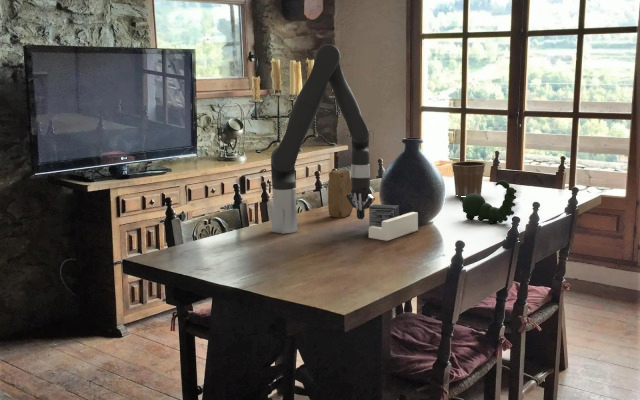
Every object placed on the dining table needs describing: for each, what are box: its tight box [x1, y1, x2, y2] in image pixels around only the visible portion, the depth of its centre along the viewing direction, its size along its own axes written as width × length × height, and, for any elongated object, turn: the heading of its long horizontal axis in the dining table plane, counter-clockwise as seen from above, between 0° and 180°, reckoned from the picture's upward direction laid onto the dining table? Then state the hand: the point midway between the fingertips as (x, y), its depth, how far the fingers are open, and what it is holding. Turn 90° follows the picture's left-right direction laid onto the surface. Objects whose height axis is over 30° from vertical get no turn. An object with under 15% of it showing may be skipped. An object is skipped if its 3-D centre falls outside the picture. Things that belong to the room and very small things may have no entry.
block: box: [327, 168, 354, 219], centre depth 295 cm, size 11×8×20 cm
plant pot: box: [450, 160, 486, 196], centre depth 334 cm, size 16×16×16 cm
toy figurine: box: [457, 180, 517, 224], centre depth 279 cm, size 9×19×25 cm
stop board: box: [368, 211, 419, 241], centre depth 262 cm, size 20×8×7 cm, turn 139°
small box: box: [368, 203, 400, 227], centre depth 265 cm, size 11×6×10 cm, turn 70°
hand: (360, 218), depth 272 cm, fingers closed
